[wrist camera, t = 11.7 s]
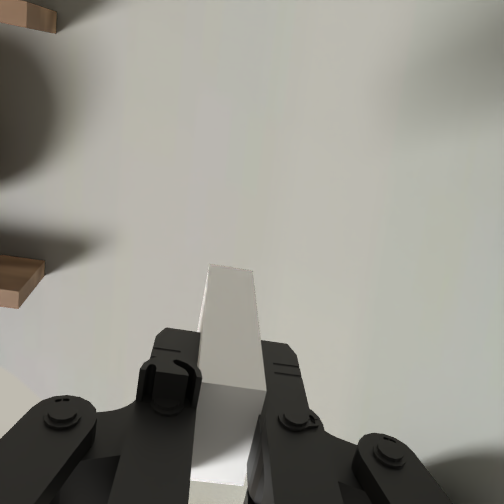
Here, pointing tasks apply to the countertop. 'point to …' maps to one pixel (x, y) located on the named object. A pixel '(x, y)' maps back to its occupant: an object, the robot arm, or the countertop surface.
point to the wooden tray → (6, 267)
